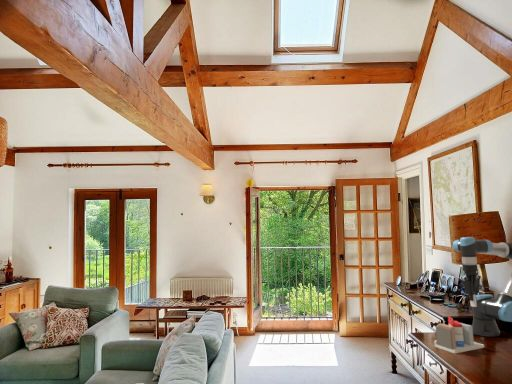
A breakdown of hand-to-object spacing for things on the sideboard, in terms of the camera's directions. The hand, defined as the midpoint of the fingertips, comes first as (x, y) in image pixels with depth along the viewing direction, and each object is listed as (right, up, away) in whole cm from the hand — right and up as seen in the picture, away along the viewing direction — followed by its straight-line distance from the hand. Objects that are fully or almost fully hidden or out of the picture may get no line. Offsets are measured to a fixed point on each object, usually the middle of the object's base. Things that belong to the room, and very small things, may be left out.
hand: (473, 306), depth 210 cm
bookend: (-8, -19, -5) cm, 21 cm away
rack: (-12, -20, -7) cm, 25 cm away
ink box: (-13, -19, -7) cm, 24 cm away
